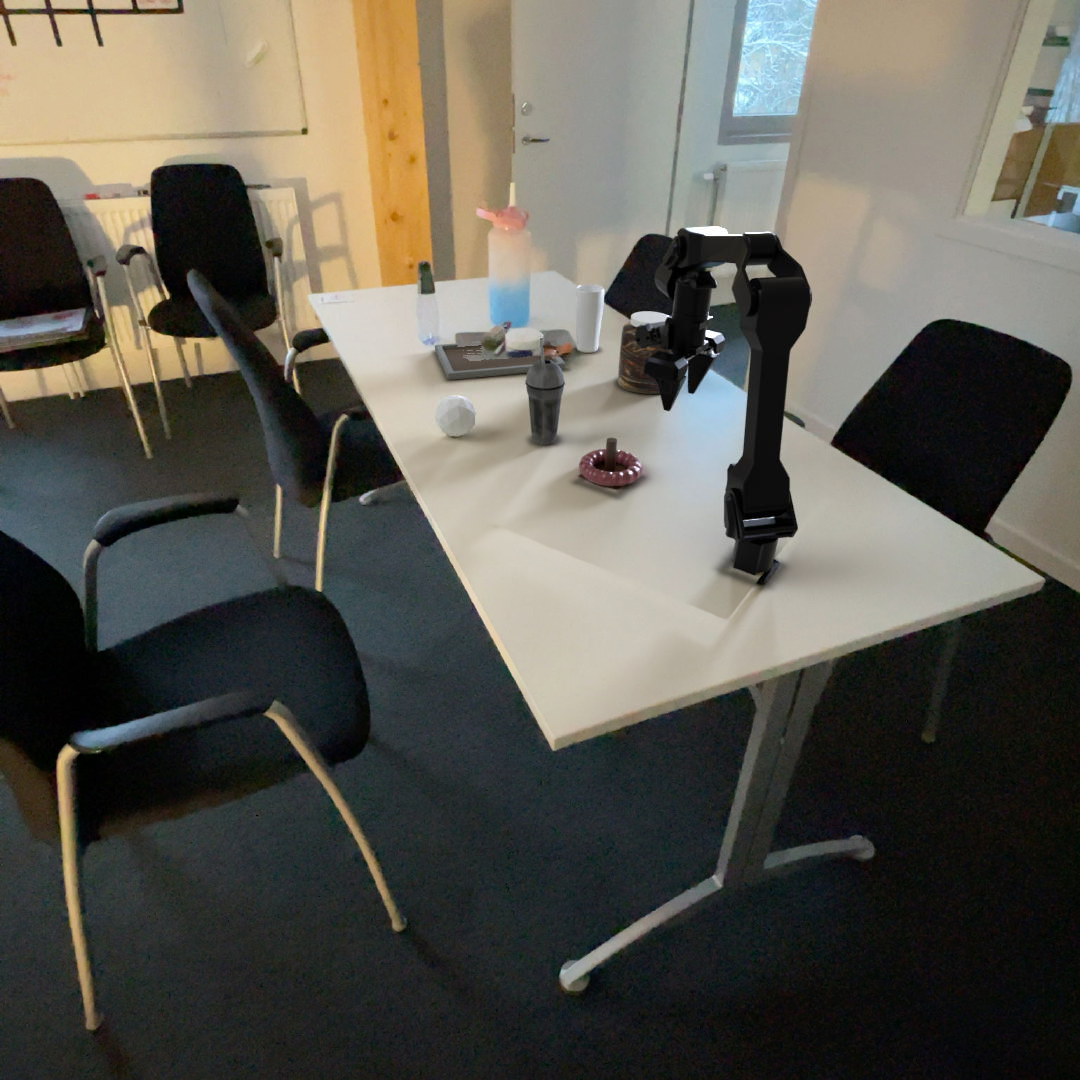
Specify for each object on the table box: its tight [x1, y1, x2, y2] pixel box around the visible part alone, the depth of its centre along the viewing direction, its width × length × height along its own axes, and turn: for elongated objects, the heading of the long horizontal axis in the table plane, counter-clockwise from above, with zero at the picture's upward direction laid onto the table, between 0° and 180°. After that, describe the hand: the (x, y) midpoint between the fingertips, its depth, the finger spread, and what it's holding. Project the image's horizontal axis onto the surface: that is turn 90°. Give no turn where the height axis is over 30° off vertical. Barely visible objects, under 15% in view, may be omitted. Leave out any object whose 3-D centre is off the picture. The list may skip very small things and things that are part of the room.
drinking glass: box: [574, 283, 605, 354], centre depth 179 cm, size 7×7×15 cm
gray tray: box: [434, 341, 566, 381], centre depth 176 cm, size 19×2×30 cm
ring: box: [578, 448, 643, 487], centre depth 128 cm, size 11×11×2 cm
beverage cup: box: [524, 338, 566, 446], centre depth 136 cm, size 7×7×20 cm
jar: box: [617, 310, 673, 395], centre depth 161 cm, size 12×12×15 cm
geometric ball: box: [434, 394, 477, 438], centre depth 141 cm, size 8×8×8 cm
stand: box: [577, 437, 628, 491], centre depth 127 cm, size 8×8×8 cm
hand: (679, 401), depth 128 cm, fingers open, 9 cm apart
